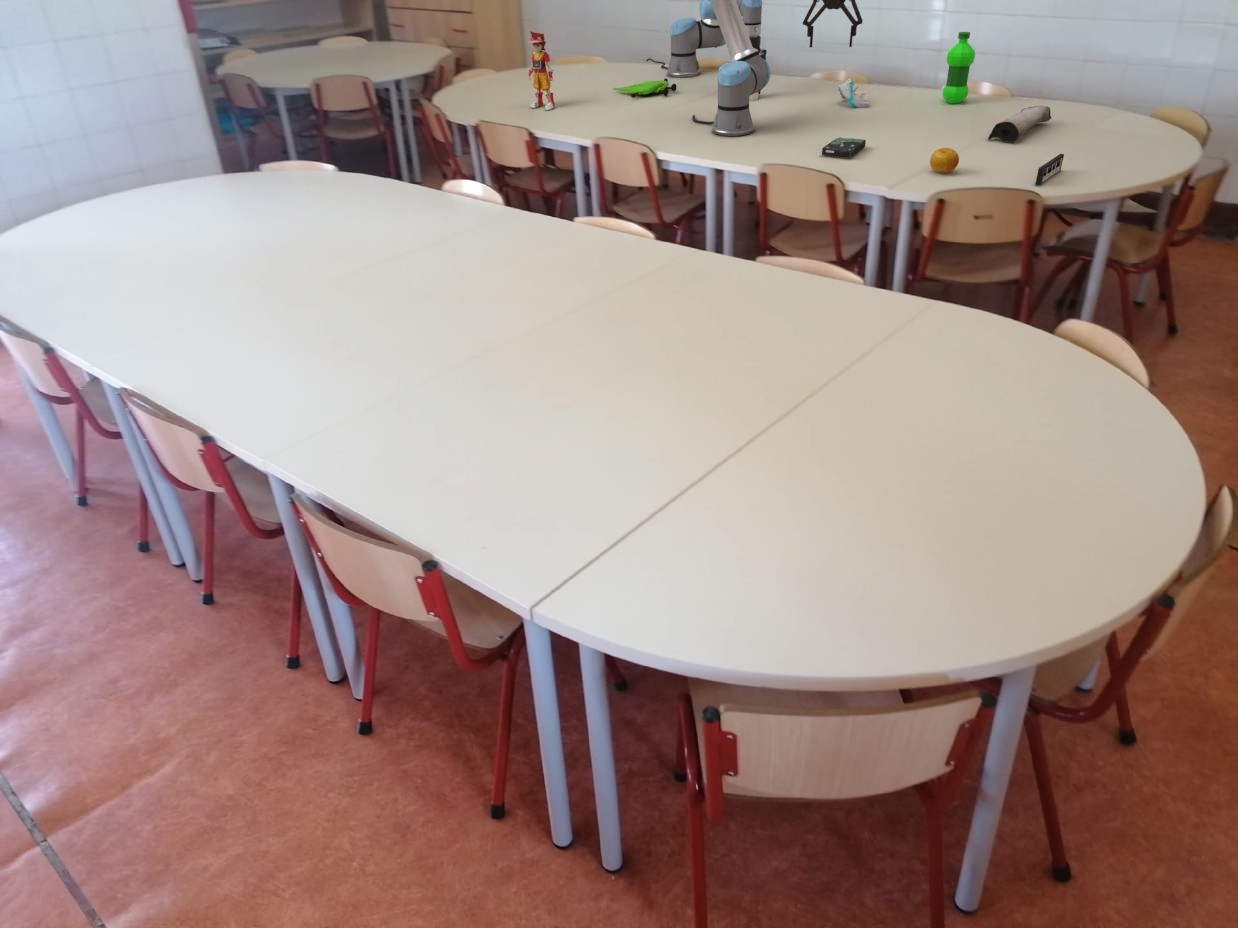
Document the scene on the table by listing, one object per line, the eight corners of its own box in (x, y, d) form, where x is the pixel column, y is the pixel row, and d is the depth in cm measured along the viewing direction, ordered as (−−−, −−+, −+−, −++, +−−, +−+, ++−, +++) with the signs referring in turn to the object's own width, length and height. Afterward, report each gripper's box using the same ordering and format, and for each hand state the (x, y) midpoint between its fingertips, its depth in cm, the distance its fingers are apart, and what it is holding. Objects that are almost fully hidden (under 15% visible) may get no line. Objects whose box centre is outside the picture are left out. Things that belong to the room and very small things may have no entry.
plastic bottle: (973, 101, 354) (984, 32, 339) (955, 106, 349) (966, 36, 335) (952, 97, 361) (962, 29, 346) (934, 102, 356) (944, 33, 342)
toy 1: (525, 109, 381) (517, 32, 364) (534, 104, 388) (527, 28, 371) (550, 110, 377) (543, 32, 360) (559, 105, 384) (553, 28, 367)
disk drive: (850, 159, 300) (865, 147, 310) (851, 151, 299) (866, 139, 309) (821, 156, 305) (836, 144, 315) (821, 148, 303) (837, 136, 313)
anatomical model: (833, 78, 362) (858, 71, 361) (836, 104, 368) (860, 97, 367) (844, 86, 350) (869, 79, 349) (846, 113, 356) (871, 106, 355)
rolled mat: (1018, 110, 327) (1042, 93, 319) (1032, 131, 328) (1056, 115, 319) (983, 133, 310) (1008, 115, 302) (998, 155, 310) (1023, 138, 302)
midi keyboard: (1039, 185, 269) (1043, 168, 266) (1035, 184, 270) (1038, 168, 267) (1060, 170, 279) (1064, 154, 277) (1056, 169, 280) (1060, 153, 277)
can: (749, 95, 382) (750, 72, 376) (761, 98, 377) (762, 75, 371) (737, 99, 378) (737, 75, 373) (749, 101, 373) (750, 78, 368)
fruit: (924, 163, 281) (941, 140, 278) (925, 165, 289) (941, 143, 286) (946, 178, 280) (963, 155, 277) (947, 180, 288) (963, 158, 285)
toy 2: (686, 85, 398) (631, 84, 414) (685, 72, 395) (629, 72, 411) (651, 104, 381) (596, 103, 397) (650, 92, 378) (594, 91, 394)
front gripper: (874, -24, 303) (867, 44, 315) (799, -22, 308) (795, 45, 321) (873, -21, 297) (867, 48, 309) (797, -19, 303) (793, 49, 315)
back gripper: (734, 40, 357) (733, 100, 371) (777, 34, 364) (775, 93, 377) (725, 37, 363) (724, 97, 376) (767, 31, 369) (765, 90, 382)
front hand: (830, 47), depth 315 cm, fingers open, 13 cm apart
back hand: (749, 95), depth 376 cm, fingers closed on can, 7 cm apart
